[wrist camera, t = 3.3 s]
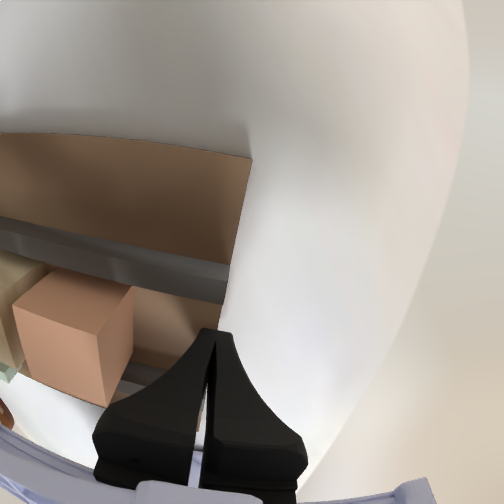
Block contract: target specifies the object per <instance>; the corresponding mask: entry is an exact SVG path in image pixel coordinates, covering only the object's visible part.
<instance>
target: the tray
mask: <svg viewBox="0 0 504 504" xmlns="http://www.w3.org/2000/svg"><path fill="white" fill-rule="evenodd" d="M21 367H22V364H21V365H20V367H19V368H18V369H17V370H15V369H13V368H11V367H10V366H8V365H6V364H4V363H2V362H0V379H2V380H3V381H5V382H7V383H10V381H11V380H12V379H13V377H14V376H15V375H16V373H17V372H18V371H19V369H20V368H21Z"/></svg>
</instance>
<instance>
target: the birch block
mask: <svg viewBox="0 0 504 504" xmlns="http://www.w3.org/2000/svg"><path fill="white" fill-rule="evenodd" d="M45 276H47V273H46V263H45V262H42V261H38V260H35V259H31V258H28V257H25V256H22V255H19V254H15V253H12V252H9V251H6V250H3V249H0V362H2V363H4V364H6V365H8V366H10V367H11V368H13V369H15V370H17V369H18V368H19V367H20V365H21V364H22V363H23V362H24V360H25V359H26V358H25V355H24V352H23V348H22V345H21V341H20V337H19V334H18V330H17V326H16V321H15V317H14V313H13V308H12V304H13V303H14V302H15V301H17V300H18V299H19V298H20V297H21V296H22V295H24V294H25V293H26V292H27V291H28V290H29V289H31V288H32V287H33V286H34V285H35V284H37V283H38V282H39V281H40V280H42V279H43V278H44V277H45Z"/></svg>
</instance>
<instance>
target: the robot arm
mask: <svg viewBox="0 0 504 504" xmlns="http://www.w3.org/2000/svg"><path fill="white" fill-rule="evenodd" d="M206 386H207V413H206V431H205V439H204V447H203V452H199V451H194V444H195V437H196V430H197V423H198V416H199V412H200V409H201V405H202V401H203V397H204V394H205V390H206ZM92 440H93V443H94V446H95V449H96V451H97V454H98V457H99V458H98V460H97V463H96V466H95V469H91V468H88V467H86V466H83V465H81V464H78V463H76V462H74V461H71V460H69V459H67V458H64V457H62V456H60V455H58V454H55V453H53V452H51V451H49V450H47V449H45V448H43V447H41V446H39V445H37V444H35V443H33V442H31V441H30V440H28V439H26V438H24V437H22V436H20V435H19V434H17V433H15V432H14V431H12V430H10V429H9V428H7V427H5V426H4V425H2V424H1V421H0V486H1V487H2V488H4V489H5V490H7V491H8V492H10V493H11V494H13V495H14V496H16V497H17V498H19V499H20V500H22V501H24V502H25V503H27V504H437V503H436V500H435V498H434V495H433V493H432V490H431V488H430V485H429V483H428V480H427V478H426V477H423V478H419V479H415V480H411V481H407V482H405V483H403V484H401V485H399V486H398V487H397V488H396V489H395V490H394V491H391V492H387V493H382V494H376V495H371V496H364V497H358V498H350V499H343V500H333V501H321V502H304V503H296V494H295V490H297V487H298V486H297V479H298V478H299V476H300V475H301V474H302V473H303V472H304V470H305V469H306V467H307V466H308V456H307V452H306V449H305V446H304V443H303V440H302V438H301V436H299V435H298V434H297V433H296V432H294V431H293V430H292V429H291V428H289V427H288V426H287V425H286V424H284V423H283V422H282V421H281V420H280V419H279V418H278V417H277V416H276V415H275V414H274V412H273V411H272V410H271V409H270V408H269V407H268V406H267V405H266V403H265V402H264V401H263V399H262V398H261V397H260V395H259V394H258V392H257V391H256V389H255V388H254V386H253V385H252V383H251V381H250V380H249V378H248V376H247V374H246V372H245V370H244V368H243V366H242V363H241V361H240V358H239V356H238V353H237V350H236V347H235V344H234V340H233V335H232V334H231V333H229V332H224V331H219V330H213V329H208V328H202V329H200V331H199V333H198V335H197V337H196V339H195V340H194V341H193V343H192V344H191V346H190V347H189V348H188V349H187V351H186V352H185V353H184V354H183V355H182V356H181V358H180V359H179V360H178V361H177V362H176V363H175V364H174V365H173V366H172V367H171V368H170V369H169V370H167V371H166V372H165V373H164V374H163V375H162V376H160V377H159V378H158V379H156V380H155V381H153V382H152V383H151V384H149V385H148V386H146V387H145V388H143V389H141V390H139V391H137V392H136V393H134V394H132V395H130V396H128V397H126V398H124V399H121V400H119V401H117V402H114V403H112V404H110V405H109V406H108V407H107V409H106V410H105V411H104V413H103V414H102V416H101V417H100V419H99V420H98V423H97V425H96V427H95V430H94V432H93V434H92Z"/></svg>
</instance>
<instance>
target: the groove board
mask: <svg viewBox="0 0 504 504" xmlns="http://www.w3.org/2000/svg"><path fill="white" fill-rule="evenodd" d="M251 164H252V159H249V158H244V157H239V156H234V155H229V154H224V153H218V152H213V151H207V150H201V149H195V148H189V147H183V146H176V145H170V144H162V143H155V142H147V141H139V140H131V139H121V138H111V137H100V136H88V135H73V134H53V133H0V249H3V250H6V251H9V252H12V253H15V254H19V255H22V256H25V257H28V258H31V259H35V260H38V261H42V262H45V263H46V273H47V275H48V274H49V273H50V272H52V271H53V270H54V269H55V268H57V267H58V266H59V267H62V268H66V269H69V270H73V271H77V272H80V273H84V274H88V275H92V276H96V277H99V278H103V279H107V280H111V281H115V282H119V283H123V284H127V285H132V286H134V297H133V353H132V355H131V357H130V359H129V361H128V364H127V366H126V368H125V370H124V372H123V374H122V376H121V379H120V381H119V383H118V385H117V387H116V389H115V392H114V394H113V396H112V398H111V401H110V403H109V405H110V404H112V403H114V402H117V401H119V400H121V399H124V398H126V397H128V396H130V395H132V394H134V393H136V392H137V391H139V390H141V389H143V388H145V387H146V386H148V385H149V384H151V383H152V382H153V381H155V380H156V379H158V378H159V377H160V376H162V375H163V374H164V373H165V372H166V371H167V370H169V369H170V368H171V367H172V366H173V365H174V364H175V363H176V362H177V361H178V360H179V359H180V358H181V356H182V355H183V354H184V353H185V352H186V351H187V349H188V348H189V347H190V346H191V344H192V343H193V341H194V340H195V339H196V337H197V335H198V333H199V331H200V329H202V328H208V329H213V330H217V328H218V323H219V318H220V313H221V308H222V305H223V303H224V298H225V293H226V288H227V283H228V276H229V269H230V263H231V258H232V253H233V248H234V244H235V239H236V234H237V229H238V225H239V220H240V215H241V210H242V206H243V201H244V196H245V192H246V187H247V183H248V178H249V174H250V169H251ZM18 372H19V373H21V374H23V375H25V376H27V377H29V378H31V379H33V378H32V377H31V374H30V371H29V368H28V365H27V361H26V359H25V360H24V362H23V363H22V367H21V368H20V369H19V371H18ZM33 380H35V379H33ZM35 381H38V380H35ZM38 382H40V381H38ZM40 383H42V382H40ZM42 384H44V383H42ZM44 385H46V384H44ZM46 386H49V385H46ZM49 387H51V386H49ZM51 388H53V387H51ZM53 389H55V388H53ZM206 389H207V386H206ZM55 390H58V389H55ZM58 391H60V390H58ZM60 392H63V391H60ZM63 393H65V392H63ZM65 394H68V393H65ZM68 395H70V394H68ZM205 395H206V390H205V394H204V397H203V401H202V405H201V409H200V412H199V416H198V423H197V430H196V431H197V432H198V431H199V426H200V420H201V414H202V411H203V407H204V402H205ZM70 396H73V395H70ZM73 397H75V396H73ZM75 398H78V397H75ZM78 399H80V398H78ZM80 400H83V399H80ZM83 401H86V400H83ZM86 402H88V403H91V402H89V401H86ZM91 404H94V403H91ZM94 405H97V404H94ZM109 405H108V406H109ZM97 406H100V405H97ZM100 407H103V406H100ZM103 408H106V407H103ZM106 409H107V408H106Z"/></svg>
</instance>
